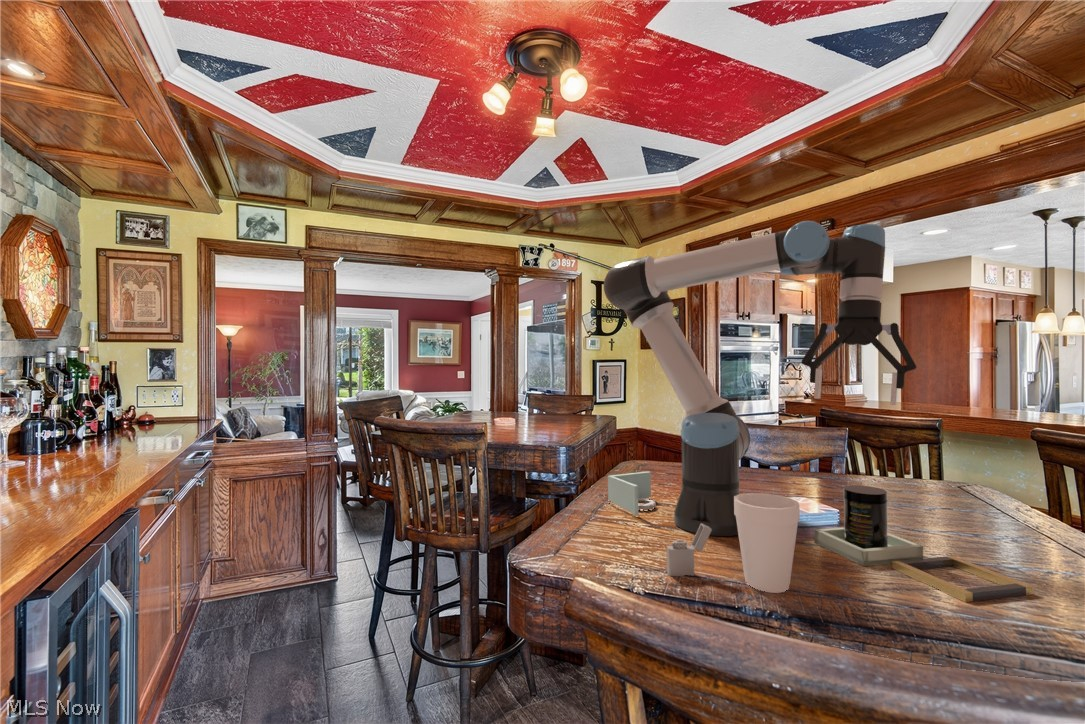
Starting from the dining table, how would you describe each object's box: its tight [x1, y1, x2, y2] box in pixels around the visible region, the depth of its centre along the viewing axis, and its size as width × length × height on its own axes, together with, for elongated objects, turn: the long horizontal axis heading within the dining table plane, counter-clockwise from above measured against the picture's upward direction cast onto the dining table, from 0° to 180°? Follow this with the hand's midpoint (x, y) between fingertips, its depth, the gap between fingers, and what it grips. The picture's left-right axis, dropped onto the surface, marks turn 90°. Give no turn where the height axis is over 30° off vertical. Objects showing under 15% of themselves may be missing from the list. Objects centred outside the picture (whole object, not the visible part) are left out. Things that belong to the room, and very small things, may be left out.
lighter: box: [666, 523, 712, 577], centre depth 82 cm, size 7×2×8 cm, turn 92°
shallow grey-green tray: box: [813, 527, 924, 567], centre depth 91 cm, size 12×12×2 cm
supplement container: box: [842, 484, 889, 549], centre depth 91 cm, size 7×7×10 cm
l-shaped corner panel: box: [607, 471, 657, 516], centre depth 120 cm, size 12×12×8 cm
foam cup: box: [734, 492, 801, 594], centre depth 78 cm, size 10×9×13 cm
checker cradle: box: [891, 555, 1034, 603], centre depth 78 cm, size 12×12×1 cm
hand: (853, 401), depth 104 cm, fingers open, 13 cm apart
